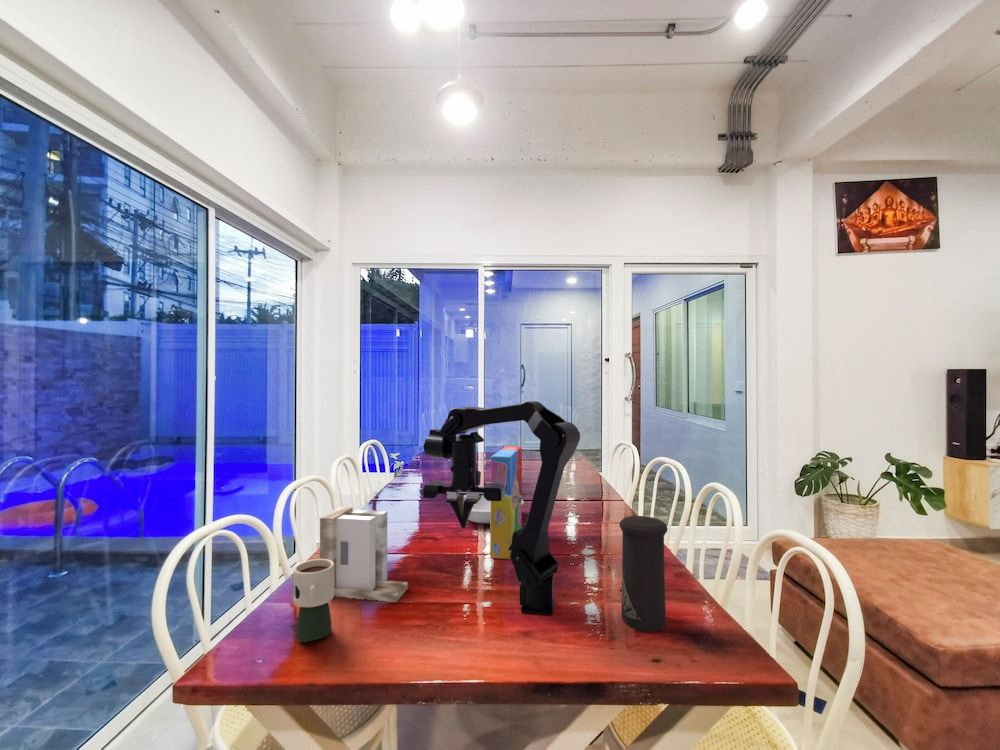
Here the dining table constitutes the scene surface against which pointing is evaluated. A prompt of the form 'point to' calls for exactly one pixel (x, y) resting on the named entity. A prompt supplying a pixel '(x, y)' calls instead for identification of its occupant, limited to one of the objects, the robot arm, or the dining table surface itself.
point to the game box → (506, 500)
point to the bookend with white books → (383, 588)
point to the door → (355, 552)
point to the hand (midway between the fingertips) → (463, 527)
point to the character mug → (313, 598)
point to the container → (643, 573)
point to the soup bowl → (481, 511)
